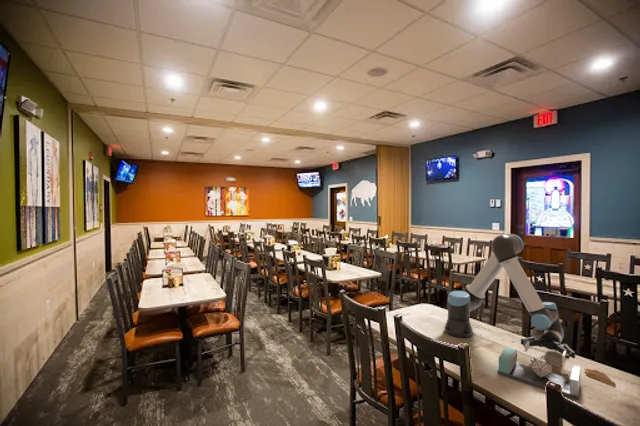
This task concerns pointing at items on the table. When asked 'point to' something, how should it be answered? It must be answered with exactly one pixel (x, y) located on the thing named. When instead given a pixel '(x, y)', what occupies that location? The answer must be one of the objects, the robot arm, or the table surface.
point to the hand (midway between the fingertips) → (543, 353)
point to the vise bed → (546, 379)
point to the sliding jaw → (507, 360)
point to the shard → (599, 376)
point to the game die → (541, 367)
